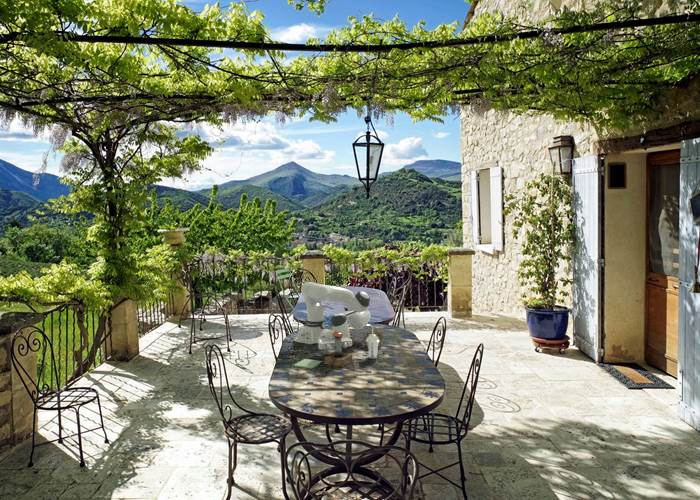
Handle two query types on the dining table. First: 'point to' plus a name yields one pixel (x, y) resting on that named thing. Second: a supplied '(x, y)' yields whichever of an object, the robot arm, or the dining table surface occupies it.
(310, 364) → the mat
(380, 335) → the pine cone
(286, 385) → the dining table surface
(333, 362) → the collar
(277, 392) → the dining table surface
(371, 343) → the cup with straw
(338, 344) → the peg
